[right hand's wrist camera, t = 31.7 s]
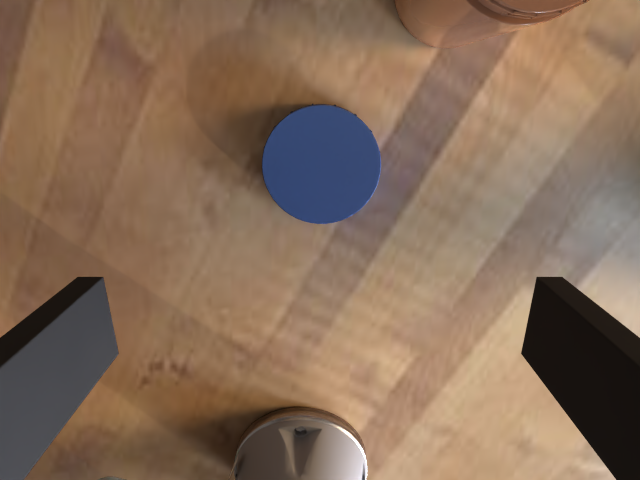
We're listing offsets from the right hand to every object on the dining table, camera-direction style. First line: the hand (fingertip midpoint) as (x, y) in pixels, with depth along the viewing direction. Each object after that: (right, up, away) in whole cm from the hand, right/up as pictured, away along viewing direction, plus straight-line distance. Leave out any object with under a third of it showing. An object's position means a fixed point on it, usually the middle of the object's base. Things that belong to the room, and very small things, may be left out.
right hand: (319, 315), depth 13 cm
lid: (0, +9, +23) cm, 24 cm away
